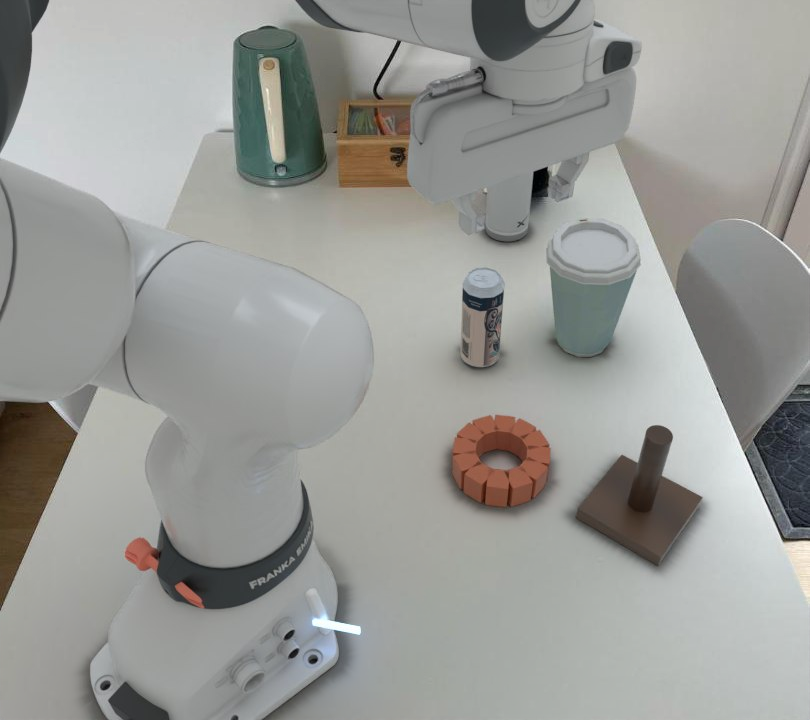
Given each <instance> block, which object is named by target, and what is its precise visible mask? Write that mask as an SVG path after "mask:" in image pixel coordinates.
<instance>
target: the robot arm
mask: <svg viewBox="0 0 810 720" xmlns="http://www.w3.org/2000/svg"><path fill="white" fill-rule="evenodd" d="M294 1H295V2H296V3H297V5H298V6H299V7H300V9H302V10H303V12H305V14H306V15H307V16H308V17H310V19H311V20H313V21H314V22H316V23H317V24H319V25H321V26H322V27H326V28H329V29H333V30H334V29H335V30H339V31H340V30H341V31H347V32H353V33H361V34H363V33H364V34H370V35H374V36H377V37H378V36H379V37H381V38H387V39H390V40H395V41H399V42H403V43H407V44H411V45H415V46H420V47H422V48H427V49H432V50H436V51H441V52H445V53H449V54H452V55H457V56H461V57H466V58H470V59H469V60H470V62H469V63H470V64H469V65H470V66H469V70H466V71H462V72H460V73H458V74H455V75H453V76H450V77H447V78H437V79H435V80H432V81H430V82H429V83H427V85H426V87H425V89H424V90H422V91H421V92H420V93H419V94H418V95H417V96H416V98H415V99H414V100H413V101H412V102H411V105H410V110H409V115H410V117H409V119H410V133H409V142H408V149H407V150H408V151H407V162H406V163H407V165H406V176H407V177H406V178H407V182H408V184H409V185H410V187H411V188H412V189H413V190H414V191H415V192H416V193H417V194H418V195H420V196H421V197H422V198H424V199H425V200H427V201H428V202H429V203H431V204H433V205H442V204H444V203H448V202H449V201H451V202H452V203H453V205H454V207H455V208H456V209H457V210H458V226H459V228H460V230H461V231H463V233H465V234H466V235H467V236H471V235H473V234H477V233H480V232H482V231H485V222H486V212H484V211H482V210H481V209H479V207H477V206H476V204H474V203H473V202H475V201H476V200H477V192H479V191H481V190H485V189H487V188H488V187H491V186H493V185H496V184H499V183H502V182H505V181H508V180H511V179H513V178H516V177H519V176H522V175H525V174H528V173H531V172H533V173H534V172H537V171H539V170H542V169H546V168H547V167H551V166H554V165H556V164H559V163H560V165H559V167H558V169H557V171H556V173H555V175H553V176H549V177H548V182H547V184H548V187H547V195H548V197H549V198H550V199H552V200H554V201H555V202H556V203H559V202H562V201H565V200H568V199H571V198H573V196H574V192H575V191H574V190H575V182H577V181H578V178H579V177H580V175H581V173H582V172H583V170H584V169H585V167H586V166H587V164H588V163H589V160H590V153H591V152H594V151H598V150H599V149H602V148H605V147H608V146H612V145H614V144H617V143H618V142H620V141H621V139H622V138H623V137H624V135H625V134H626V133H627V131H628V130H629V127H630V124H631V120H632V116H633V110H634V105H635V104H634V103H635V99H636V98H635V97H636V89H637V74H636V71H635V69H634V68H633V67H634V66H636V65H637V64H638V62H639V60H640V57H641V55H642V54H641V53H642V47H643V43H642V40H641V39H639V38H638V37H636V36H635V35H632V34H630V33H628V31H624V30H623V29H621V28H618V27H617V26H614V25H612V24H610V23H608V22H606V21H602V20H600V19H597V18H595V15H596V7H595V6H596V5H595V0H294ZM49 3H50V0H0V154H1V153H2V151H3V149H4V147H5V146H6V143H7V141H8V139H9V137H10V135H11V133H12V131H13V128H14V126H15V124H16V121H17V118H18V115H19V113H20V110H21V107H22V105H23V101H24V97H25V94H26V91H27V88H28V84H29V78H30V73H31V67H32V55H33V32H34V31H35V29H36V27H37V26H38V25H39V23H40V21H41V20H42V18H43V16H44V14H45V12H46V10H47V9H48V6H49ZM471 203H473V204H471ZM374 366H375V348H374V340H373V334H372V331H371V328H370V324H369V321H368V319H367V317H366V314H365V313H364V310H363V308H362V306H360V304H359V303H358V302H356V301H355V300H353V299H351V298H350V297H348V296H346V295H344V294H343V293H341V292H339V291H338V290H336V289H334V288H333V287H331V286H329V285H327V284H326V283H324V282H322V281H321V280H319V279H316V278H314V277H312V276H311V275H309V274H307V273H305V272H304V271H301V270H300V269H298V268H295V267H292V266H290V265H287V264H283V263H279V262H276V261H272V260H269V259H266V258H263V257H260V256H256V255H252V254H250V253H249V254H248V253H245V252H242V251H239V250H236V249H232V248H228V247H225V246H222V245H218V244H215V243H212V242H208V241H206V240H203V239H199V238H195V237H192V236H189V235H186V234H182V233H179V232H176V231H174V230H173V231H172V230H171V229H168V228H167V229H166V228H163V227H160V226H156V225H153V224H150V223H147V222H145V221H141V220H139V219H136V218H133V217H130V216H128V215H125V214H123V213H120V212H118V211H116V210H113V209H111V208H110V207H109V206H108V205H107V203H105V202H104V201H103V200H101V199H100V198H99V197H97V196H95V195H94V194H91V193H88V192H87V191H84V190H81V189H79V188H77V187H74V186H72V185H69V184H67V183H64V182H62V181H59V180H57V179H55V178H52V177H50V176H47V175H45V174H42V173H40V172H37V171H35V170H33V169H30V168H27V167H25V166H22V165H19V164H17V163H15V162H12V161H11V160H7V159H5V158H2V157H0V402H12V403H13V402H14V403H33V404H41V403H42V404H43V403H48V402H53V401H57V400H61V399H63V398H65V397H68V396H71V395H73V394H75V393H76V392H79V391H80V390H81V389H83V388H85V387H86V386H87V385H91V386H95V387H98V388H101V389H104V390H108V391H111V392H114V393H117V394H120V395H123V396H126V397H128V398H132V399H134V400H138V401H140V402H143V403H146V404H148V405H150V406H153V407H155V408H157V409H159V410H160V411H161V412H162V413H163V414H165V415H166V416H167V417H165V418H164V419H163V420H162V422H161V423H160V424H159V426H158V427H157V429H156V430H155V432H154V434H153V436H152V439H151V441H150V443H149V445H148V449H147V452H146V455H145V460H144V475H145V479H146V481H147V485H148V487H149V490H150V493H151V495H152V498H153V500H154V503H155V505H156V509H157V511H158V514H159V516H160V523H159V524H160V525H159V532H158V536H157V543H156V544H157V545H156V547H153V546H152V545H151V544H150V542H149V541H148V540H147V539H146V538H145V537H137V538H135V539H133V540H132V541H130V543H129V544H128V545H127V546H126V547H125V551H124V558H125V559H126V560H127V561H128V562H130V563H131V564H133V565H135V566H136V569H137V570H139V571H141V572H143V574H142V575H141V577H140V578H139V579H138V581H137V583H136V584H135V586H134V587H133V589H132V590H131V592H130V593H129V595H128V597H127V598H126V600H125V601H124V603H123V604H122V606H121V607H120V608H119V610H118V611H117V613H116V614H115V616H114V618H113V619H112V621H111V623H110V625H109V628H108V629H109V630H108V638H107V642H106V643H105V644H104V645H103V646H102V647H101V649H100V650H98V652H97V653H96V655H95V656H94V657H93V658H92V660H91V662H90V665H89V677H90V685H91V688H92V691H93V695H94V696H95V701H96V702H97V704H98V706H99V708H100V710H101V712H102V714H103V715H104V716H105V718H106V720H263V719H265V718H266V717H267V716H268V715H271V713H273V712H274V711H276V710H277V709H278V708H279V707H281V706H282V705H283V704H285V703H286V702H287V701H289V700H290V699H292V698H293V697H294V696H295V695H297V694H298V693H299V692H300V691H302V690H303V689H305V688H306V687H307V686H308V685H310V684H311V683H313V682H314V681H315V680H317V679H318V678H319V677H321V676H322V675H323V674H325V673H326V672H327V671H328V670H330V669H331V668H333V667H334V666H335V665H336V664H337V662H338V660H339V657H340V648H339V643H338V639H337V635H336V631H340V632H345V633H350V634H355V635H361V626H358V625H353V624H348V623H342V622H339V621H336V615H337V610H338V605H339V604H338V603H339V591H338V585H337V582H336V578H335V575H334V573H333V571H332V569H331V567H330V565H329V564H328V563H327V561H326V560H325V559H324V558H323V555H321V553H320V551H319V549H318V547H317V545H316V542H315V540H314V527H315V526H314V519H313V518H314V517H313V512H312V508H311V507H312V506H311V503H310V500H309V494H308V490H307V488H306V486H305V483H304V482H303V480H302V479H301V474H300V467H299V453H298V451H299V450H307V449H308V450H309V449H311V448H315V447H317V446H319V445H321V444H323V443H325V442H327V441H329V440H330V439H331V438H333V437H334V436H335V435H337V433H339V432H340V431H341V430H342V429H343V428H344V427H346V426H347V425H348V424H349V422H350V421H351V420H352V419H353V418H354V416H355V415H356V414H357V412H358V411H359V409H360V408H361V406H362V405H363V403H364V401H365V398H366V396H367V394H368V391H369V388H370V385H371V382H372V378H373V374H374ZM311 660H317V661H316V662H315V663H310V661H311ZM108 685H109V687H108V688H107V689H104V688H105V687H106V686H108Z"/></svg>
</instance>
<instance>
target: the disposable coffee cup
mask: <svg viewBox="0 0 810 720" xmlns="http://www.w3.org/2000/svg"><path fill="white" fill-rule="evenodd" d="M545 252H546V253H545V255H546V256H545V257H546V264H547V265H548V266H549V273H550V274H549V275H550V285H551V298H552V310H553V311H552V312H553V321H554V332H555V333H554V334H555V335H554V336H555V340H556V342H557V345H558V346H559V347H560V348H561V349H562V350H563V351H564V352H565V353H567V354H570V355H572V356H575V357H580V358H581V357H582V358H591V357H594V356H598V355H600V354H602V353H603V352H604V350H606V348H607V347H608V346H609V344H610V343H611V341H612V339H613V336H614V333H615V331H616V328H617V326H618V322H619V320H620V318H621V314H622V312H623V309H624V307H625V304H626V301H627V299H628V295H629V293H630V290H631V288H632V285H633V283H634V279H635V277H636V274H637V271H638V269H639V268H640V267H641V266H642V264H641V259H642V258H641V253H640V248H639V244H638V242H636V238H635V237H634V236H633V235H632V234H631V233H630V232H629V231H628V230H627V229H626V228H625V227H624V225H620V224H619V223H617V222H613V221H611V220H608V219H605V218H602V217H601V218H599V217H588V218H587V217H584V218H577V219H574V220H571V221H568V222H564V223H562V224H561V226H560V227H559V228H558V229H557V230H556V231H555V232H554V233H553V234H552V238H551V239H550V240H549V241H548V242H547V246H546V249H545Z"/></svg>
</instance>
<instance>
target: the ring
mask: <svg viewBox="0 0 810 720" xmlns="http://www.w3.org/2000/svg"><path fill="white" fill-rule="evenodd" d="M453 439H454V440H453V445H452V451H451V471H452V476H453V478H454V480H455V482H456V484H457V486H458V488H459V490H463V494H464V495H466V496H468V497H470V498H471V499H473V500H474V501H476V502H478V503H480V504H482V502H483V501H484V505H485V506H491V507H492V506H493V507H500V508H507V507H508V504H509V506H510V507H511V508H512V507H515V506H518V505H522V504H525V503H528V502H531V499H532V498H533V499H535V498H536V497H537V496H538V495H539V494H540V492H541V491H542V490H543V489H544V488H545V486H546V485H547V483H548V479H549V471H550V465H551V464H550V463H551V449H552V447H550V443H549V441H548V439H547V438H546V437H545V435H544V433H543V432H542V431H541V429H537V426H536V425H533V424H531V423H530V422H528V421H526V420H525V419H523V418H520V417H519V418H518V419H517V420H516V416H512V415H503V414H495V415H494V418H493V416H492V414H490V415H489V414H488V415H486V416H482V417H479V418H476V419H473V420H472V423H471V422H467V424H465V425H464V426H463V427H462V428H461V429H460V430H459V431H458V432H457V433H456V436H455V437H454V438H453ZM494 450H498V451H507V452H509V453H511V454H513V455H514V456H516V457H519V459H520V461H521V462H522V463H521V464H519V466H516V467H513V468H510V469H500V468H492V467H491V466H489V465H488V464H485V463H484V462H482V461H481V459H480V457H481V456H482V455H483V454H485V453H488V452H492V451H494Z"/></svg>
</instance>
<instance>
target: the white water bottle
mask: <svg viewBox="0 0 810 720" xmlns="http://www.w3.org/2000/svg"><path fill="white" fill-rule="evenodd" d="M533 180H534V172H531V173H528V174H525V175H522V176H519V177H516V178H513V179H511V180H508V181H505V182H502V183H499V184H496V185H493V186H491V187H488V188H486V204H485V206H486V207H485V222H484V225H485V229H484V231H485V233H486V234H487V236H488V237H490V238H492V239H493V240H496V241H498V242H509V243H510V242H516V241H519V240H521V239H523V238H524V237H526V236H527V234H528V231H529V222H530V213H531V203H532V202H531V201H532V191H533V182H534V181H533Z"/></svg>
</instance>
